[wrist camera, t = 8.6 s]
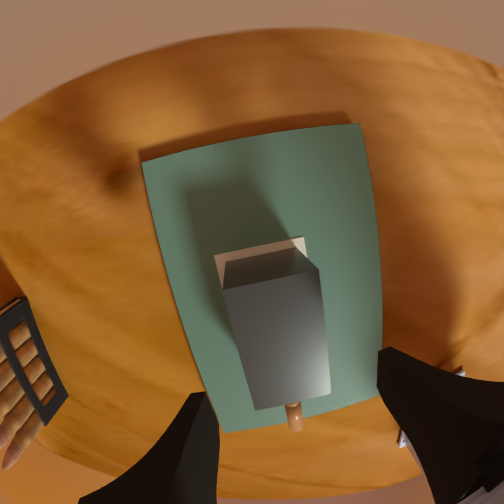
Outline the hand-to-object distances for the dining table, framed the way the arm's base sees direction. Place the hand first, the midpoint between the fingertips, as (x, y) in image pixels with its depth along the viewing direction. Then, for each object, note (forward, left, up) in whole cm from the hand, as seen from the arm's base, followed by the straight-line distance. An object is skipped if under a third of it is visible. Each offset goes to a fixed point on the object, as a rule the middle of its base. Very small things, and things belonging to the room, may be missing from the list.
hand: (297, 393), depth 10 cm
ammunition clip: (-1, +21, -10) cm, 23 cm away
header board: (0, -1, -9) cm, 9 cm away
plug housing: (-2, 0, -8) cm, 8 cm away
